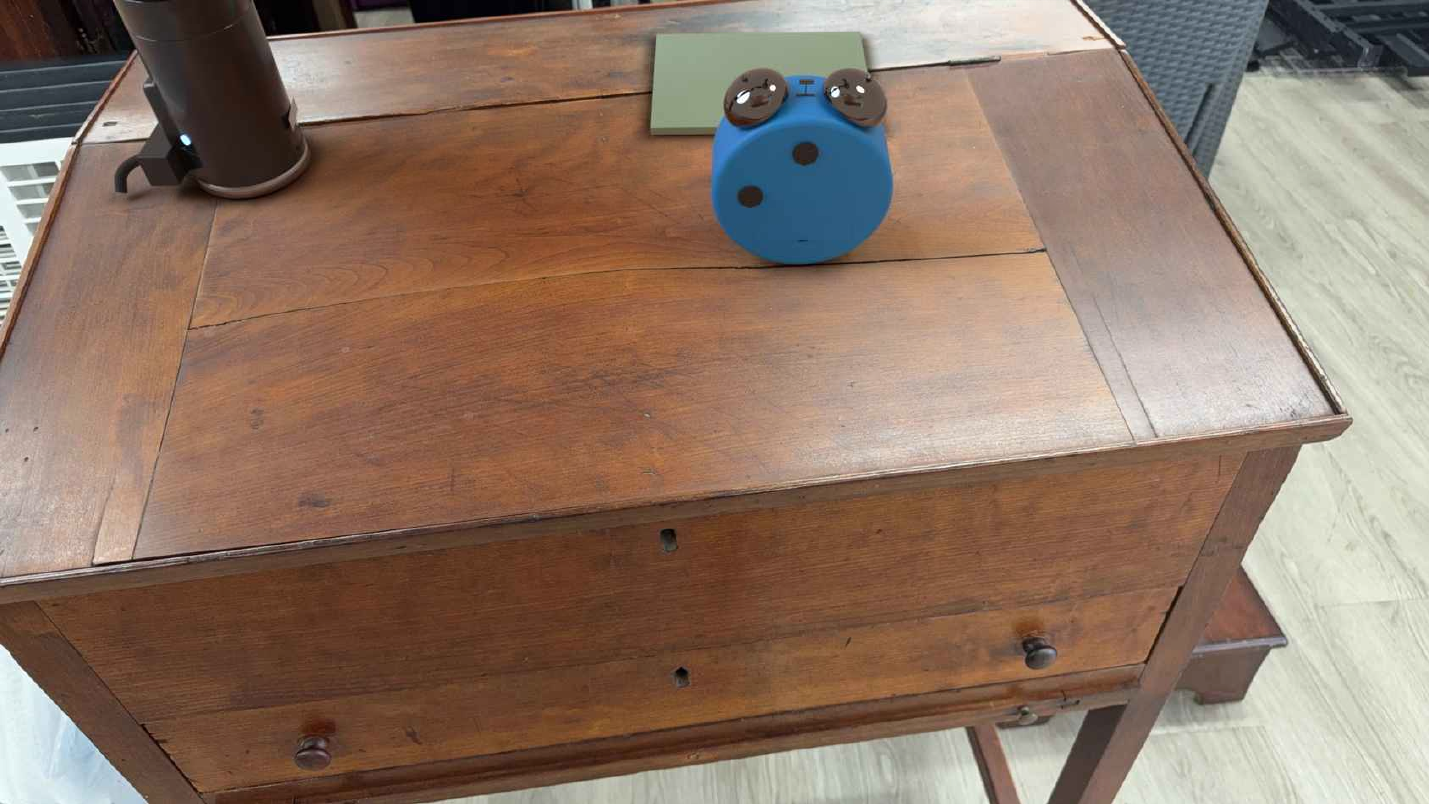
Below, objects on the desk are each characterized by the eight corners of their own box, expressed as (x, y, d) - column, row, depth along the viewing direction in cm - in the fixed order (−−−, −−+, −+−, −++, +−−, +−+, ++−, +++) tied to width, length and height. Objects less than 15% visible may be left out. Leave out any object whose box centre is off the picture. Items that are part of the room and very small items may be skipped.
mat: (650, 135, 91) (650, 127, 90) (656, 41, 101) (656, 33, 101) (876, 132, 90) (877, 125, 90) (859, 38, 101) (860, 31, 100)
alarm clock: (875, 219, 83) (899, 48, 71) (882, 270, 79) (909, 98, 67) (713, 219, 83) (711, 49, 71) (712, 270, 79) (709, 98, 67)
